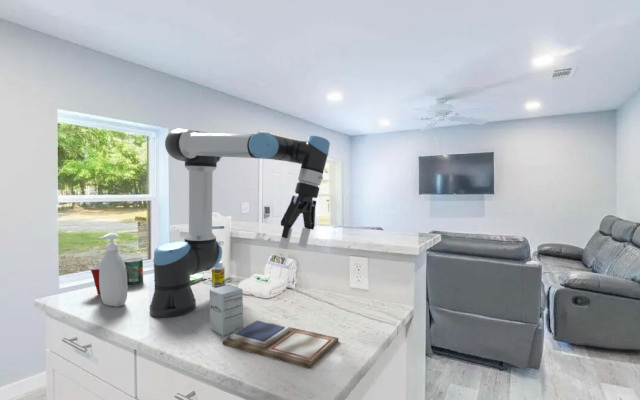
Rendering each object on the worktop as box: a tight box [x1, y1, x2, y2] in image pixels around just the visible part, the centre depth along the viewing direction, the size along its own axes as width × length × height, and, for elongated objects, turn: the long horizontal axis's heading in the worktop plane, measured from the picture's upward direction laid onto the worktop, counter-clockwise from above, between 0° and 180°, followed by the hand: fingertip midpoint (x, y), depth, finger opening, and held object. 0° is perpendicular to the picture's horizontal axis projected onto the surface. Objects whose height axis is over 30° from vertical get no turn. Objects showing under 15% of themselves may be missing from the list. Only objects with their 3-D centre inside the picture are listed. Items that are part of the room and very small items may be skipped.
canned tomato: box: [123, 257, 144, 287], centre depth 155 cm, size 8×8×11 cm
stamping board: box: [222, 319, 339, 369], centre depth 95 cm, size 28×16×2 cm, turn 62°
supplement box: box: [209, 284, 244, 337], centre depth 105 cm, size 7×7×13 cm
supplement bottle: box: [211, 260, 226, 287], centre depth 152 cm, size 6×6×10 cm
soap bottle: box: [97, 232, 128, 308], centre depth 127 cm, size 14×8×27 cm, turn 62°
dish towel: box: [153, 272, 204, 286], centre depth 162 cm, size 18×23×3 cm
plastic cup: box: [89, 264, 101, 297], centre depth 141 cm, size 11×11×12 cm
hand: (293, 247), depth 111 cm, fingers open, 13 cm apart
